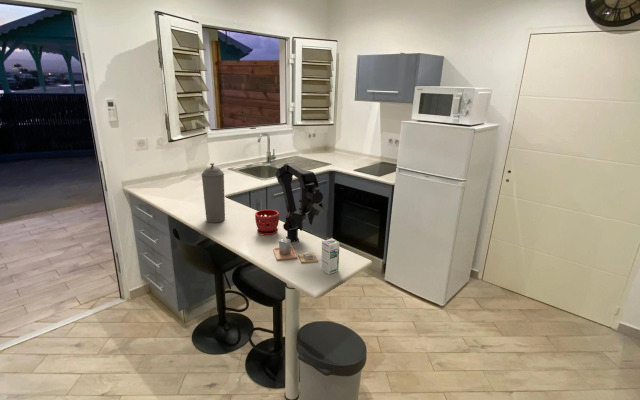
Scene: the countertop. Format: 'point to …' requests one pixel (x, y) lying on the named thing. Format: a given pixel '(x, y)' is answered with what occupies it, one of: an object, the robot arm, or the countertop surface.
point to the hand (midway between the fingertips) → (306, 227)
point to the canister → (214, 194)
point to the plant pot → (267, 222)
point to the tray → (283, 257)
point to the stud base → (307, 257)
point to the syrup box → (330, 256)
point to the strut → (284, 246)
